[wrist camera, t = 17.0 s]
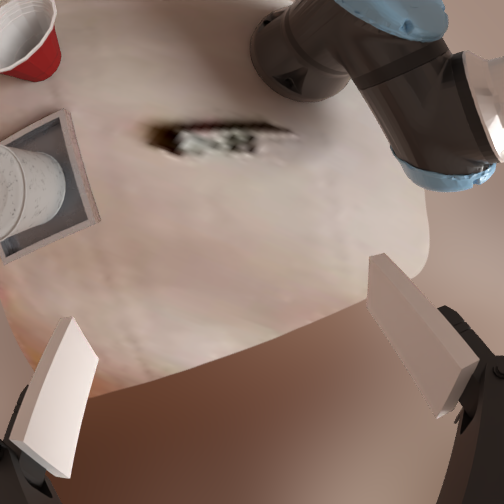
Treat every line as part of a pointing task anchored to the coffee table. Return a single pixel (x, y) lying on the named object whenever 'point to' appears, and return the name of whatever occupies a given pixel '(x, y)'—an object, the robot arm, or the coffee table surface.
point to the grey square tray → (77, 186)
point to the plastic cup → (29, 39)
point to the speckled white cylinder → (28, 189)
